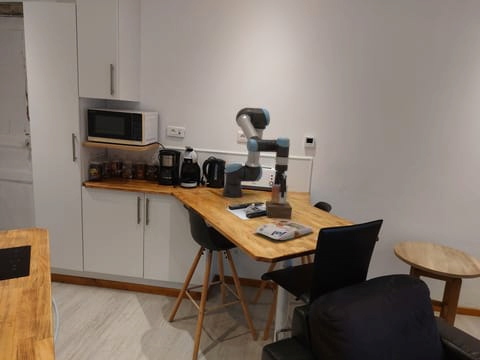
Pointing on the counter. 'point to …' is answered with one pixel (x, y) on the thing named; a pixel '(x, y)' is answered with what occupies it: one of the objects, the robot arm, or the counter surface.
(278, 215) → the walnut block
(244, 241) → the counter surface
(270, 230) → the dog food
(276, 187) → the small box
